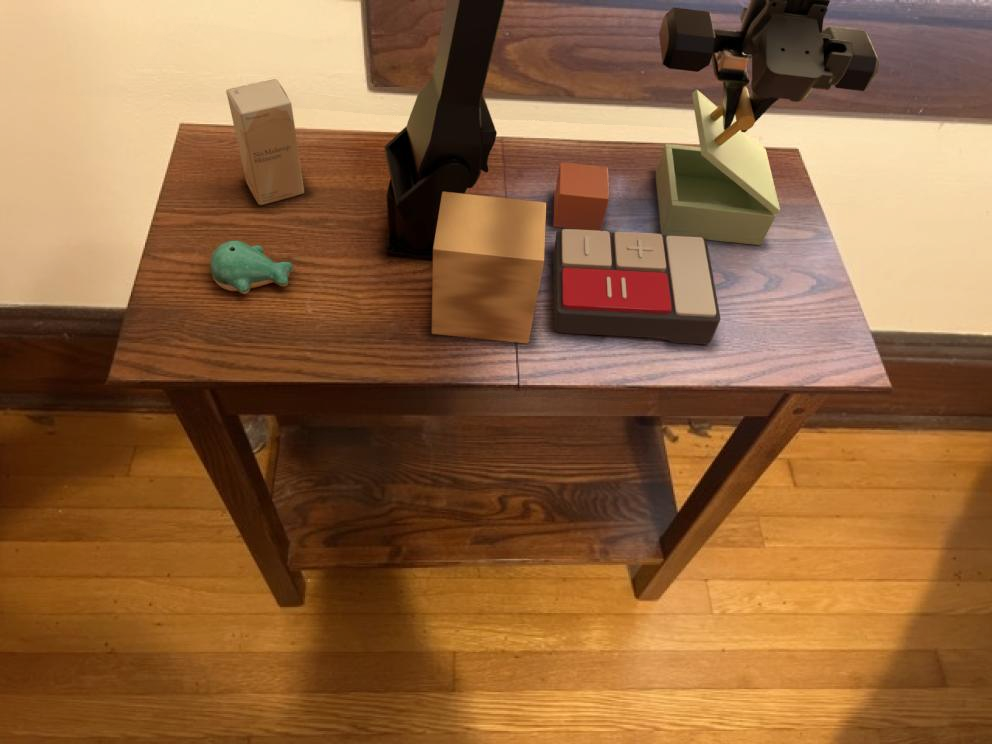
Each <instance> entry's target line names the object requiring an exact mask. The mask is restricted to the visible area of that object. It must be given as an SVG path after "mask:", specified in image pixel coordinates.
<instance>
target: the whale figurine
mask: <svg viewBox="0 0 992 744" xmlns="http://www.w3.org/2000/svg"><path fill="white" fill-rule="evenodd" d="M264 253H265V250H264V247H262V246H261V245H258V244H257V245H253V246H251V245H249V244H247V243H246V242H244V241H241V240H228V241H226V242H223V243H221V244H219V245H218V246H217V247H216V248H215V250H213V252H212V255H211V257H210V262H209V268H210V269H209V270H210V273H211V276H212V278H213V280H214V282H215V283H216V284H217V286H219V287H220V288H222V289H224V290H226V291H230V292H239V293H240V294H243V295H246V294H248V293H249V292H250V291H251V289H254V288H259V287H262V286H265V285H268V284H272V283H275V284H276V285H278V286H279V287H286V286H288V285H289V276H290V273H291V272H293V270H294V265H293V263H292V262H290V261H279V262H275V261H273V260H272V259H271V258H269V257H268V256H266V255H265V254H264Z"/></svg>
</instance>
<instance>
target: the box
mask: <svg viewBox="0 0 992 744" xmlns="http://www.w3.org/2000/svg"><path fill="white" fill-rule="evenodd" d="M225 93H226V97H227V101H228V106H229V110H230V115H231V119H232V123H233V128H234V132H235V137H236V141H237V142H236V143H237V146H238V151H239V155H240V160H241V165H242V170H243V174H244V179H245V182H246V184H247V186H248V188H249V191H250V192H251V194H252V196H253V198H254V199H255V201H256V203H257V205H259V206H263V205H267V204H271V203H274V202H279V201H282V200H286V199H290V198H294V197H297V196H300V195H303V194H305V186H304V181H303V173H302V166H301V159H300V153H299V146H298V139H297V133H296V126H295V124H296V123H295V118H294V117H295V116H294V111H293V105H292V101H291V99H290V97H289V96H288V94H287V92H286V91H285V89H284V88H283V86H282V84H281V82H280V81H279V79H276V78H272V79H269V80H268V79H267V80H262V81H259V82H253V83H248V84H244V85H241V86H236V87H231V88H226V90H225Z"/></svg>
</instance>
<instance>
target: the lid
mask: <svg viewBox="0 0 992 744" xmlns="http://www.w3.org/2000/svg"><path fill="white" fill-rule="evenodd" d="M691 97H692V103H693V110H694V116H695V123H696V129H697V136H698V142H699V147H700V149H701V155H702V156H703V157H704V158H706V159H707V160H708V161H709V162H711V163H712V164H713V165H714V166H715V167H717V168H718V169H719V170H720V171H722V172H723V173H724V174H725V175H727V176H728V177H729V178H730V179H731V180H733V181H734V182H735V183H736V184H738V185H739V186H740V187H741V188H743V189H744V190H745V191H746V192H748V193H749V194H750V195H751V196H752V197H754V198H755V199H756V200H757V201H759V202H760V203H761V204H762V205H764V206H765V207H766V208H767V209H768V210H770V211H771V212H772V213H773V214H776V215H777V214H778V213H780V212H781V208H780V204H779V200H778V195H777V191H776V187H775V183H774V178H773V174H772V170H771V166H770V161H769V158H768V152H767V149H766V148H765V147H764V146H763V145H762V144H760V143H759V142H758V141H757V139H755V138H753V136H751V135H750V134H749V133H748V132H747V131H748V130H750V129H751V128H753V127H754V126H755V123H756V122H755V119H754V115H753V110H752V106H751V102H750V94H749V89H748V87H747V86H745V87H744V88H743V90H742V93H741V97H740V100H739V103H738V106H737V110H736V113H735V116H734V118H735V121H734V120H733V121H732V123H731V125H730V127H728V128H727V129H726V130H724V128H723V103H722V104H720V105H719V106H717V105H716V104H715V103H713V102H712V101H711V100H710V99H709V98H708V97H706V96H705V95H704V94H703V93H702V92H701V91H699V89H695V90H694V91H693V92H692V93H691ZM741 130H747V131H746V132H741Z"/></svg>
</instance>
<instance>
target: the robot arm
mask: <svg viewBox="0 0 992 744" xmlns="http://www.w3.org/2000/svg"><path fill="white" fill-rule="evenodd" d="M506 1H507V0H445V6H444V11H443V17H442V20H441V21H442V22H441V28H440V31H439V39H438V43H437V48H436V49H437V50H436V54H435V59H434V65H433V70H432V74H431V77H430V79H429V80H428V81H427V82H426V84H425V85H424V87H422V89H421V90H420V92H419V93H418V94H417V96H416V99H415V102H414V104H413V107H412V110H411V112H410V115H409V117H408V119H407V123H406V125H405V127H404V128H402V129H401V130H400V131H399V132H398V133H397V134H396V135H395V136H394V137H393V138H392V139H390V140H389V141H388V142H387V143H386V144H385V145H384V146H383V149H384V154H385V159H386V163H387V169H388V172H389V176H390V179H389V183H388V186H387V191H386V212H387V231H388V233H387V238H386V244H385V254H386V255H387V256H395V257H402V258H403V257H404V258H413V259H415V258H416V259H422V260H423V259H425V260H432V261H433V246H434V240H435V234H436V227H437V221H438V215H439V209H440V203H441V197H442V192H452V193H461V194H466V192H467V190H468V189H473V188H474V186H475V185H476V184H477V183H478V181H479V178H480V177H481V172H484V173H488V172H489V164H488V162H489V156H490V153H491V151H492V149H493V147H494V145H495V143H496V139H497V134H498V131H497V129H496V127H495V124H494V120H493V118H492V116H491V113H490V110H489V106H488V104H487V101H486V99H485V96H484V89H485V85H486V82H487V77H488V74H489V69H490V65H491V62H492V57H493V53H494V49H495V44H496V41H497V37H498V32H499V29H500V25H501V22H502V16H503V13H504V9H505V6H506V5H505V4H506ZM830 3H831V0H749V2H748V6H747V7H743V9H742V12H741V15H740V22H741V25H740V28H739V29H738V30H730V29H723V28H714V26H713V25H714V24H713V20H712V15H711V11H709V10H708V11H706V10H699V9H692V8H691V9H690V8H683V7H675V6H674V7H672V8H671V9H670V10H668V11H667V12H666V13H665V14H664V16H663V18H662V21H661V25H660V28H659V33H658V38H659V44H660V54H661V61H662V65H663V66H665V67H666V68H668V69H669V70H679V71H686V72H693V73H694V72H696V73H698V72H701V71H702V70H703V69H705V68H707V67H708V66H710V64H711V63H712V70H713V75H714V77H715V79H716V80H717V81H719V82H722V104H723V128H724V130H726V129H727V128H728V127H730V125H731V123H732V121H734V119H735V113H736V110H737V106H738V103H739V100H740V97H741V93H742V90H743V88H744V87H747V86H748V84H750V88H751V94H750V95H749V98H750V102H751V106H752V110H753V115H754V119H755V123H756V122H757V121H758V120H759V119H760V118H761V117H762V116H764V114H765V113H766V112H767V111H768V110H770V108H771V107H772V106H773V105H774V104H775V103H776V102H778V101H780V99H782V100H789V101H790V102H793V103H794V102H795V103H798V102H802V101H804V100H805V99H806V98H807V97H808V96H809V94H810V93H811V91H812V90H813V89H814V90H824V91H829V90H830V89H831V87H832V86H834V88H835V89H842V90H849V91H859V92H865V91H866V90H868V89H869V88H870V86H871V85H872V83H873V82H874V79H875V78H876V76H877V74H878V72H879V67H880V61H879V58H878V56H877V54H876V51H875V49H874V46H873V44H872V41H871V39H870V37H869V36H868V33H867V31H866V30H865V29H859V28H850V27H842V26H833V25H828V26H826V27H825V28H824V29H823V27H824V20H825V19H824V18H825V17H826V14H827V12H828V7H829V5H830ZM750 60H751V83H750V78H749V73H748V70H747V68H748V65H749V63H750ZM747 131H748V130H741V132H747Z"/></svg>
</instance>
